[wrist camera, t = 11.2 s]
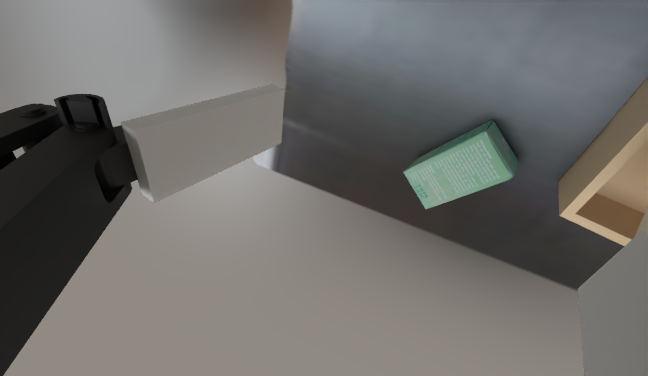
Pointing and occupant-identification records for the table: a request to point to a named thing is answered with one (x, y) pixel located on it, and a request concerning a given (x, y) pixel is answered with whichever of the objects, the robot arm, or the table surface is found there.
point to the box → (462, 166)
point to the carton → (611, 175)
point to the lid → (643, 224)
